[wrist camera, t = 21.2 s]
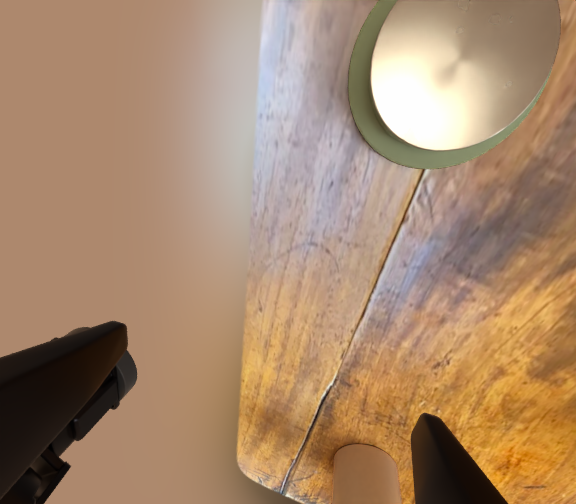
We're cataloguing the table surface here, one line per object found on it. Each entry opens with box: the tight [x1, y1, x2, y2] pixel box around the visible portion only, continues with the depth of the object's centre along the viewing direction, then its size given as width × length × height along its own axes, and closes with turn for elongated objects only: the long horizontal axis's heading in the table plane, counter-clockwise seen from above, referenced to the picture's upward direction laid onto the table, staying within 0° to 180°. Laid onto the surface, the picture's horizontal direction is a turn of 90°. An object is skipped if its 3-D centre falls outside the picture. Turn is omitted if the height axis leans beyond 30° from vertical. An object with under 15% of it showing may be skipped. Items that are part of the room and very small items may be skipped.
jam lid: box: [368, 0, 561, 151], centre depth 12 cm, size 7×7×2 cm
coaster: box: [348, 0, 551, 169], centre depth 14 cm, size 9×9×1 cm
